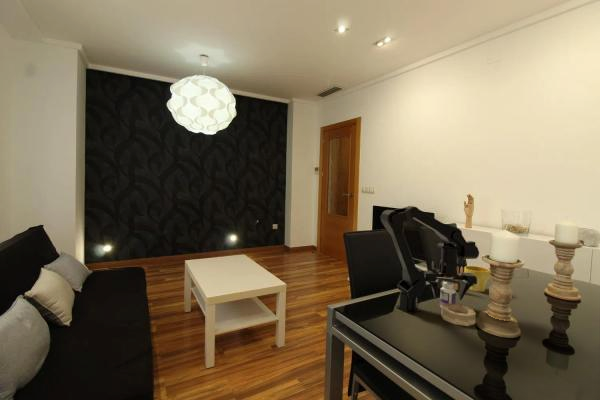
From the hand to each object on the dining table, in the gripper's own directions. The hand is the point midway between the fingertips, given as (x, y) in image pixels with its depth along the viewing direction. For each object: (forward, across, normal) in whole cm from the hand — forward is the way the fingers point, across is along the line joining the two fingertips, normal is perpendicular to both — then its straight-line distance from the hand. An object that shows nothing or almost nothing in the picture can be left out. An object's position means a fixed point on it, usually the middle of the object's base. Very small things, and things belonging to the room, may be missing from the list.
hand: (447, 298), depth 116 cm
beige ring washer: (+4, 0, +10) cm, 11 cm away
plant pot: (+4, -21, -25) cm, 33 cm away
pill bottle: (+4, 0, 0) cm, 4 cm away
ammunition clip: (+4, -9, -22) cm, 24 cm away
